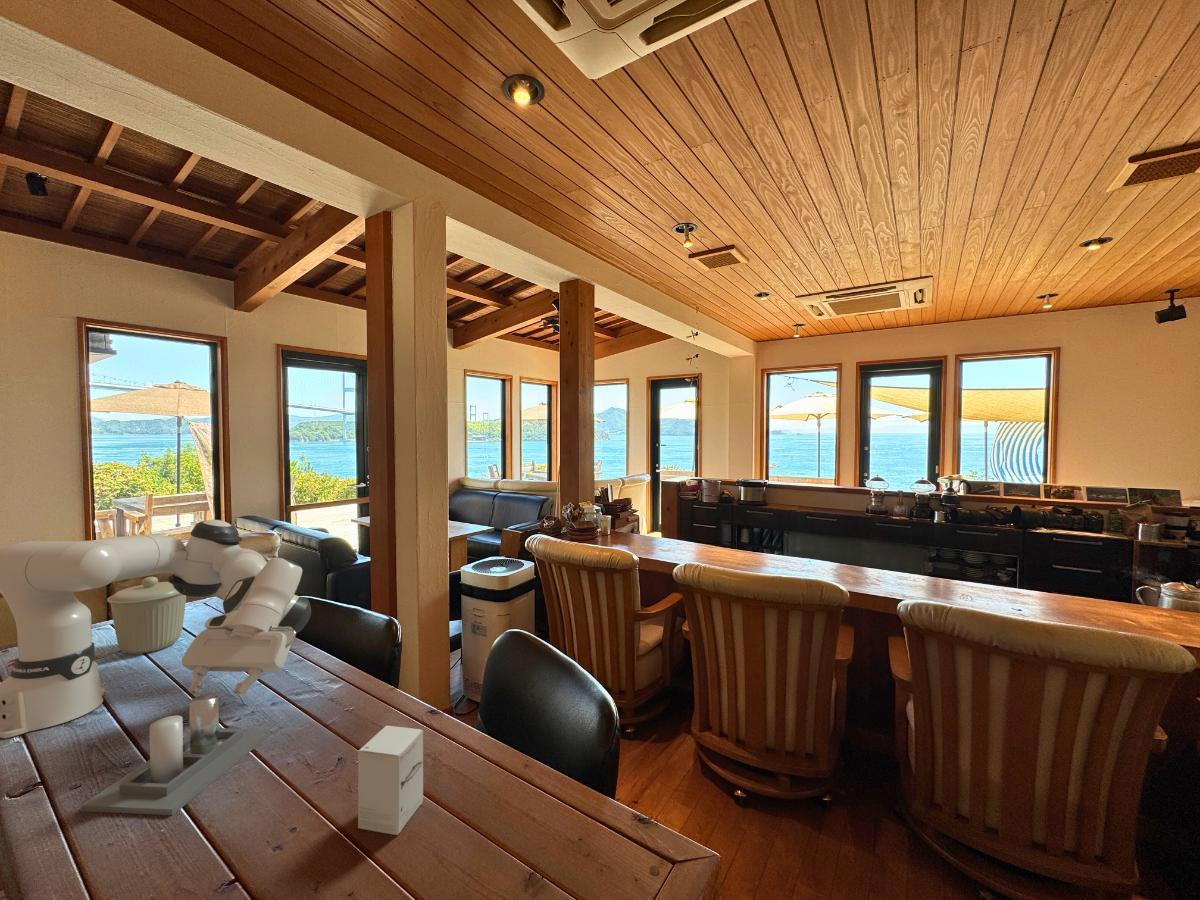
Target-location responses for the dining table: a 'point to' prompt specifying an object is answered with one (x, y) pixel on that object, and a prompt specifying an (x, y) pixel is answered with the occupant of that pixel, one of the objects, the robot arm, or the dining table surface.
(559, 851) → the dining table surface
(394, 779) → the supplement box
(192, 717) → the cylinder
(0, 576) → the robot arm
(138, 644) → the canister
